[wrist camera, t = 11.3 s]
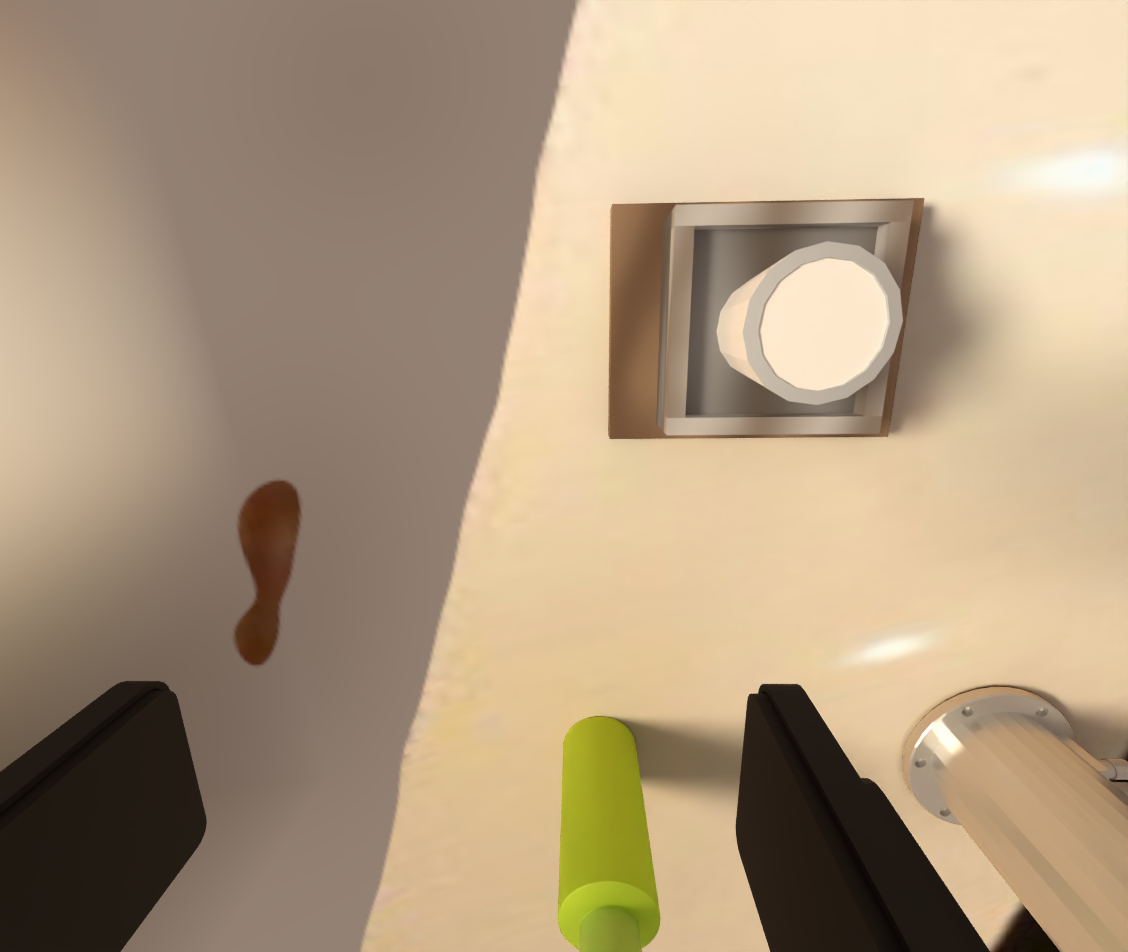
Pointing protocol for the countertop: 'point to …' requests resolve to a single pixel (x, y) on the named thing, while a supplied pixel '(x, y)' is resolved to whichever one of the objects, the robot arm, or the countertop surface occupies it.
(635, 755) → the soap dispenser
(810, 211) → the stand
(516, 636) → the countertop surface
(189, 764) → the robot arm
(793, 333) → the white cup
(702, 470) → the countertop surface
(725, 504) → the countertop surface
